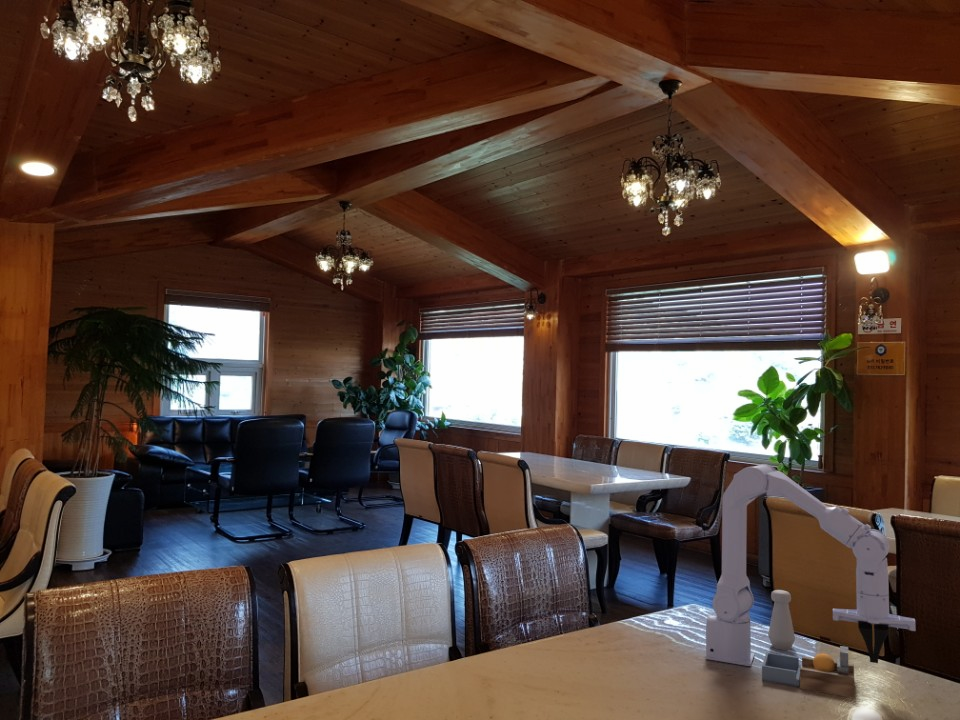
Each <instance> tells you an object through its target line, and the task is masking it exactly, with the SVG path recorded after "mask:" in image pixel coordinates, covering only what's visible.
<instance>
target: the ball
mask: <svg viewBox="0 0 960 720" xmlns="http://www.w3.org/2000/svg"><path fill="white" fill-rule="evenodd" d="M813 658H814V660H813V664H814V667H815V669H816V670H819V671H825V672H833V670H834V668H835V664H834V662H835V660H834V659H833V658H832V657H831V656H830V655H829V654H827V653H824V652H823V653H821V652H820V653H818V654H816V655H815V656H814V657H813Z"/></svg>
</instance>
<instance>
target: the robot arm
mask: <svg viewBox="0 0 960 720" xmlns="http://www.w3.org/2000/svg"><path fill="white" fill-rule="evenodd" d="M764 494H766V497H779V498H785V499H786V500H787V501H790V502H791V503H792V504H794V505H796V506H797V507H799V508H800V509H802V510H803V511H805V512H806V513H808V514H809V515H811V516H813V517H814V518H815V519H817V520H818V524H819V526H820V529H821V530H823V531H824V532H826V533H827V534H829V536H831V537H832V538H834V539H836V540H837V541H838V542H840V543H841V544H842V545H844V546H846V547H847V548H848V549H851V550H852V554H853V555H854V556H855V558H856V568H855V580H856V581H855V582H856V584H855V585H856V590H855V592H856V609H847V608H846V609H845V608H832V621H836V622H839V621H845V622H852V623H857V625H858V626H857V627H858V630H859V633H860V635H861V636H862V639H863V640H864V643H865V646H866V649H867V653H868V656H869V662H870V663H873V664H878V663H879V657H880V653H881V650H882V648H883V644H884V642H885V641H886V639H887V637H888V635H889V632H890V630H889V628H897V629H905V630H908V631H911V632H916V631H917V630H916V619H915V618H912V617H906V616H901V615H898V614H896V615H895V614H892V613H890V600H889V599H890V592H889V589H890V588H889V570H888V558H887V557H886V556H887V555H888V554H889V552H890V549H891V545H890V541H889V539H888V538H887V536H886V535H885V534H883V532H882V531H881V530H879V529H872V526H871V525H869V524H868V523H865V524H864V523H863V522H861V521H859V519H857V518H856V517H855V516H854V517H853V516H852V515H851V514H849V513H850V510H849V509H848V508H846V507H843V508H840V507H839V506H828V505H826V504H825V503H823V502H822V501H820V499H818V498H817V497H816V496H814V495H812V494H811V493H810V492H809V491H807V490H806V489H804V488H803V487H802V486H801V485H799V484H798V483H796V482H795V481H794V480H793V479H791V478H790V477H789V476H788V475H786V474H785V473H784V472H783V471H779V470H776V468H775V467H774V466H772V465H770V464H766V463H762V464H760V463H759V464H757V465H755V466H746V467H744V468H742V469H741V470H739V471H738V472H736V473H735V474H733V479H732V480H731V482H730V483H729V485H728V486H727V488H726V490H725V491H724V493H723V494H722V498H721V499H722V502H721V503H722V507H721V510H722V511H721V515H722V516H721V517H722V518H721V520H722V521H721V524H722V525H721V526H722V527H721V575H720V578H719V580H718V582H717V584H716V592H715V595H714V596H713V599H712V603H711V606H712V609H713V611H714V613H715V614H708V615H707V616H706V623H705V626H706V627H705V630H706V631H705V659H706V660H710V661H715V662H716V661H717V662H720V663H721V662H723V663H727V664H728V663H729V664H734V665H739V666H746V667H751V665H752V662H753V660H754V658H755V653H754V652H752V651H751V650H752V649H751V646H752V645H751V639H752V638H751V637H752V636H751V615H750V610H751V609H752V608H753V607H754V603H755V598H754V595H753V592H752V589H751V585H750V584H751V583H750V582H751V581H750V579H749V577H748V576H747V528H748V527H747V525H748V524H747V519H748V517H747V516H748V513H747V512H748V511H747V510H748V509H747V507H748V505H749V504H750V503H752V502H754V501H755V500H756V499H757V498H758V497H760V496H762V495H764ZM873 636H874V637H873ZM873 638H874V641H873ZM873 642H874V644H873Z"/></svg>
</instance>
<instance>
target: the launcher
mask: <svg viewBox="0 0 960 720" xmlns="http://www.w3.org/2000/svg"><path fill="white" fill-rule="evenodd" d="M813 660H814V657H808V656H802V657H801V667H800V684H799V689H802V690H807V691H813V692H818V693H823V692H824V693H823V694H829V695H835V696H841V697H847V698H852V699H855V698H856V697H855V696H856V695H855V665H854V664H851V663H848V671H849V675H843V674H837V661H834V664H835V668H834V670H833V672H825V671H819V670H816V669H815V667H814V664H813Z"/></svg>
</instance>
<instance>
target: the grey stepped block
mask: <svg viewBox="0 0 960 720" xmlns="http://www.w3.org/2000/svg"><path fill="white" fill-rule="evenodd" d="M836 660H837V661H836V662H837V674H843V675H849V671H848V664H849V646H844V645H843V646H842V645H840V646H839V657H837V659H836Z"/></svg>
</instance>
